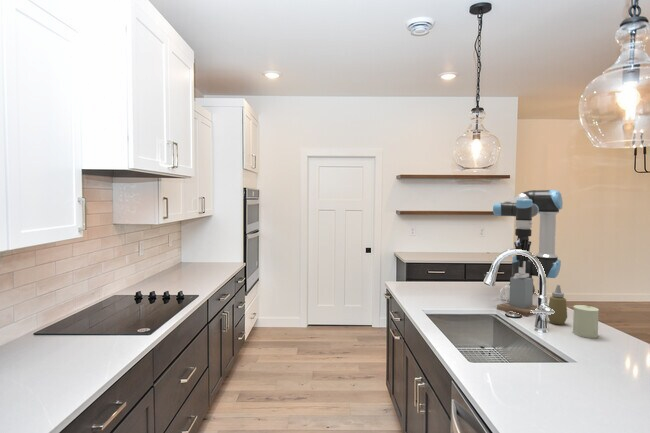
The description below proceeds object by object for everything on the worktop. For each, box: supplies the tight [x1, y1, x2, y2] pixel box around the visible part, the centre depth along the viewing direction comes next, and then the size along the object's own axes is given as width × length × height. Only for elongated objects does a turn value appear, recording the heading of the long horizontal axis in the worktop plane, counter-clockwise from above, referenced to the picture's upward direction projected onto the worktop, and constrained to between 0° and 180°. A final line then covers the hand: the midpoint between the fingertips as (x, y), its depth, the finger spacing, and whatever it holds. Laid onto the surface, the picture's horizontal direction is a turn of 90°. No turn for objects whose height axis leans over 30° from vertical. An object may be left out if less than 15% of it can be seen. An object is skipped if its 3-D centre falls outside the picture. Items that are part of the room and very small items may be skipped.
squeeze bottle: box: [547, 284, 568, 326], centre depth 179 cm, size 8×8×18 cm
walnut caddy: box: [496, 301, 538, 317], centre depth 201 cm, size 18×16×2 cm
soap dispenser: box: [508, 276, 534, 309], centre depth 201 cm, size 8×8×15 cm
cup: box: [499, 284, 510, 302], centre depth 221 cm, size 7×10×8 cm
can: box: [572, 304, 600, 339], centre depth 165 cm, size 9×9×12 cm
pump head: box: [514, 273, 529, 279], centre depth 199 cm, size 10×4×10 cm, turn 125°
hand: (521, 273), depth 200 cm, fingers closed
